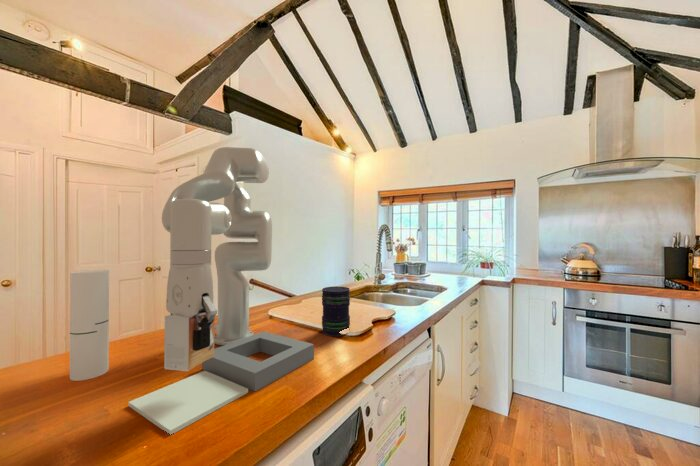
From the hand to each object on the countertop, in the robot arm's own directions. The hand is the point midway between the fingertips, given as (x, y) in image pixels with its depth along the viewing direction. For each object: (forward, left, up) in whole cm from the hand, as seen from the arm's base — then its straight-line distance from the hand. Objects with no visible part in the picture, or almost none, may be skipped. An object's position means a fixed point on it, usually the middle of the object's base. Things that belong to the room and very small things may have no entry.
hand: (190, 344), depth 61 cm
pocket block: (-1, +19, -11) cm, 22 cm away
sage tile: (0, 0, -11) cm, 11 cm away
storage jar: (+1, +51, -12) cm, 52 cm away
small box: (0, 0, -4) cm, 4 cm away
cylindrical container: (-32, -7, -12) cm, 35 cm away
